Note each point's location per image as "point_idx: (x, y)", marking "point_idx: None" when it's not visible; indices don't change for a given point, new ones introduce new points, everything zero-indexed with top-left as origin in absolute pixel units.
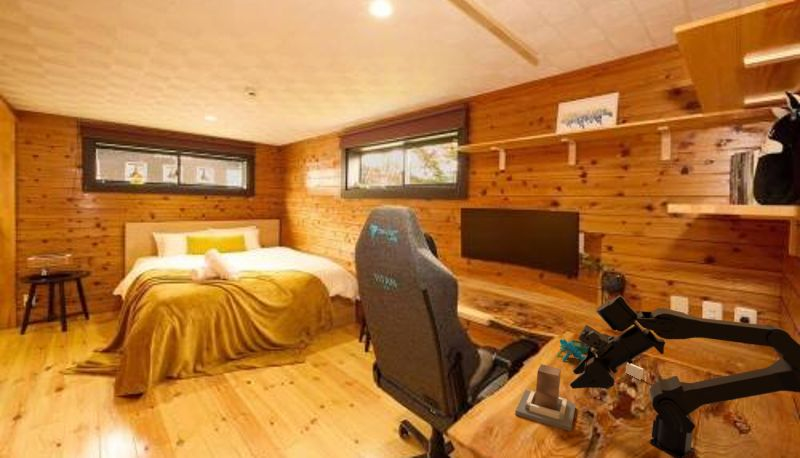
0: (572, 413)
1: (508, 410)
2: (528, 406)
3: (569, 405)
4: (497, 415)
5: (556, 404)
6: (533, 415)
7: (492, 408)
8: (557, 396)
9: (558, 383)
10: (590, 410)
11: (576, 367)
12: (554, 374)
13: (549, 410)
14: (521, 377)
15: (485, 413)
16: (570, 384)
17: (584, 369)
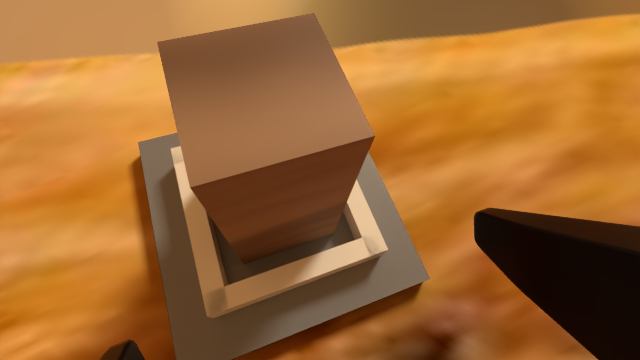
0: (325, 314)
1: (156, 122)
2: (175, 164)
3: (386, 267)
4: (86, 116)
5: (257, 248)
6: (154, 206)
7: (125, 84)
8: (272, 232)
9: (257, 205)
10: (467, 344)
11: (518, 223)
12: (193, 150)
13: (194, 246)
14: (439, 44)
15: (69, 85)
16: (106, 353)
17: (571, 303)
